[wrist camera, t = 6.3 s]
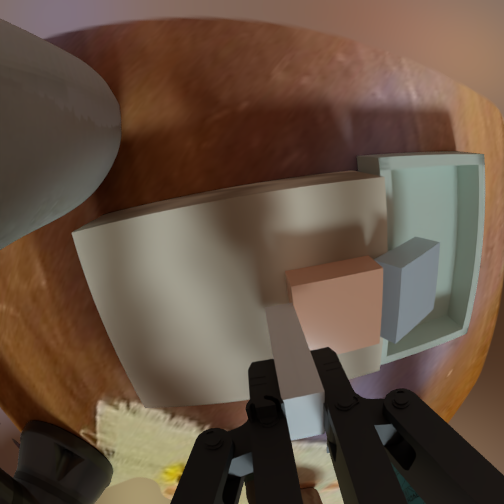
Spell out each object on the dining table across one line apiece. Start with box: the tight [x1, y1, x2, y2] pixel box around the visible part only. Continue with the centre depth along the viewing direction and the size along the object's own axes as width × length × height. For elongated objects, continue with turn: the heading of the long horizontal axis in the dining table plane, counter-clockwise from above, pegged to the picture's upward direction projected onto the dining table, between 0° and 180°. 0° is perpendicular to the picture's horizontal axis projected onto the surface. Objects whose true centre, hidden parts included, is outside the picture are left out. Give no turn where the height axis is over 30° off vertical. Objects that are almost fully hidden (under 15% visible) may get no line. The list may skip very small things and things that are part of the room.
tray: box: [357, 151, 485, 365], centre depth 20 cm, size 10×16×4 cm, turn 9°
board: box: [72, 170, 388, 408], centre depth 20 cm, size 18×14×5 cm
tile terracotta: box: [285, 255, 383, 355], centre depth 16 cm, size 5×5×2 cm
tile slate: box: [374, 237, 440, 344], centre depth 17 cm, size 5×5×2 cm
